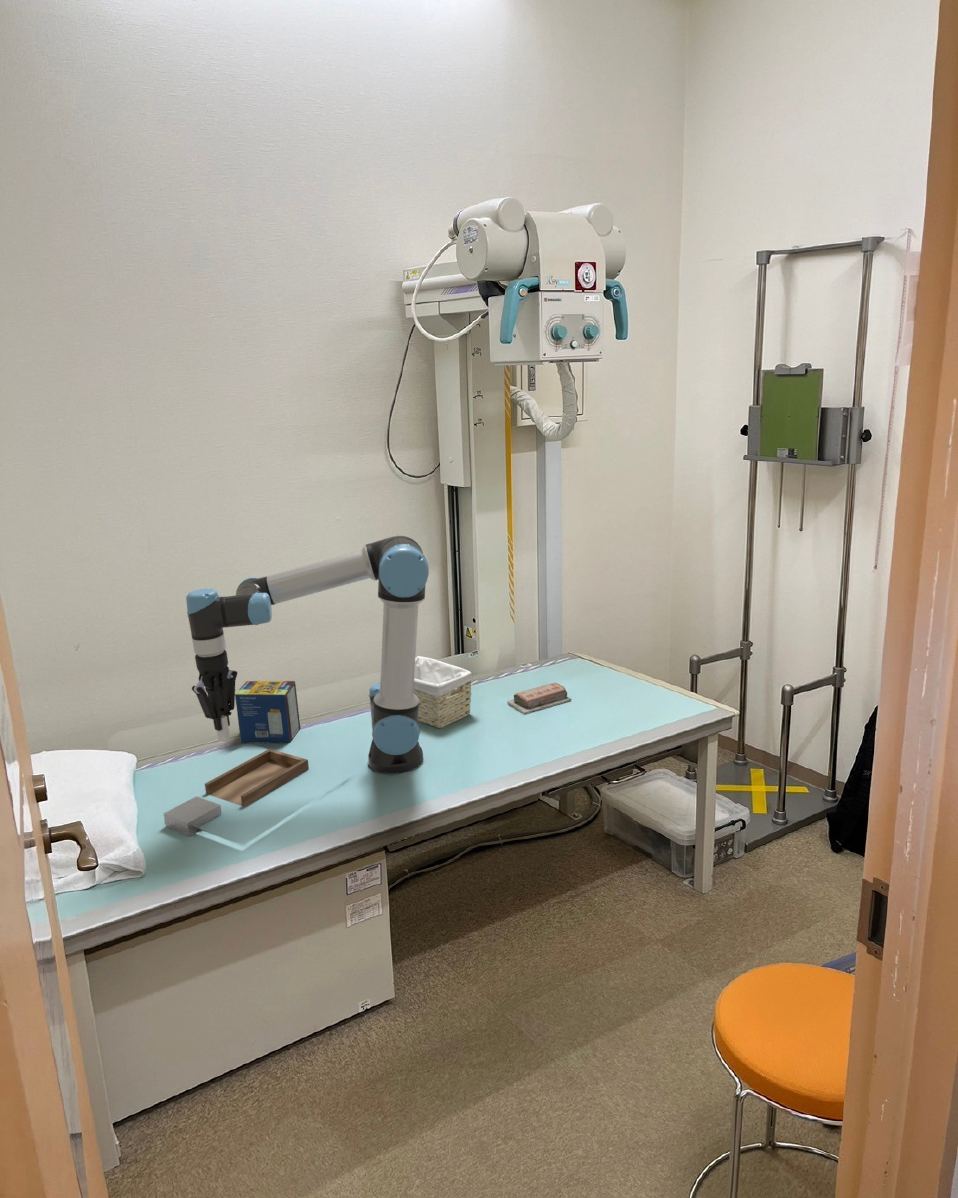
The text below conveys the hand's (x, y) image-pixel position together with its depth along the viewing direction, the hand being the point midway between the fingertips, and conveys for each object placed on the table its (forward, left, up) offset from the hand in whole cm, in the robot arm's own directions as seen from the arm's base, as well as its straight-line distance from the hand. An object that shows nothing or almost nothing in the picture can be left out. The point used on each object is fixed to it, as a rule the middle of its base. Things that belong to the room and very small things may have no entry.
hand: (224, 740), depth 231 cm
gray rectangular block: (+1, +12, -18) cm, 21 cm away
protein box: (+20, -34, -18) cm, 43 cm away
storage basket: (-13, -70, -18) cm, 73 cm away
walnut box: (+1, -9, -17) cm, 20 cm away
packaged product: (-39, -93, -18) cm, 102 cm away
